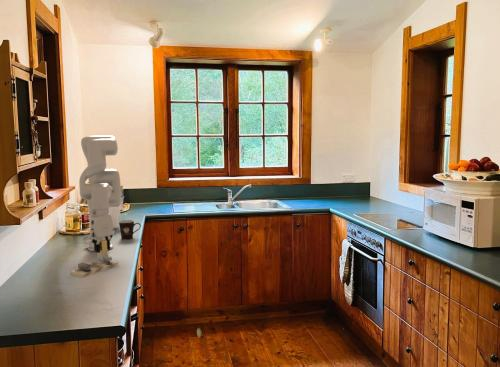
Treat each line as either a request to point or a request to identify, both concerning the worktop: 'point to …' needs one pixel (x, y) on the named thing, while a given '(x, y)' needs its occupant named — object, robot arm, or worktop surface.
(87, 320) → the worktop surface
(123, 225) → the coffee mug
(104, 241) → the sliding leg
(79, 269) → the board
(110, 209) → the cup
